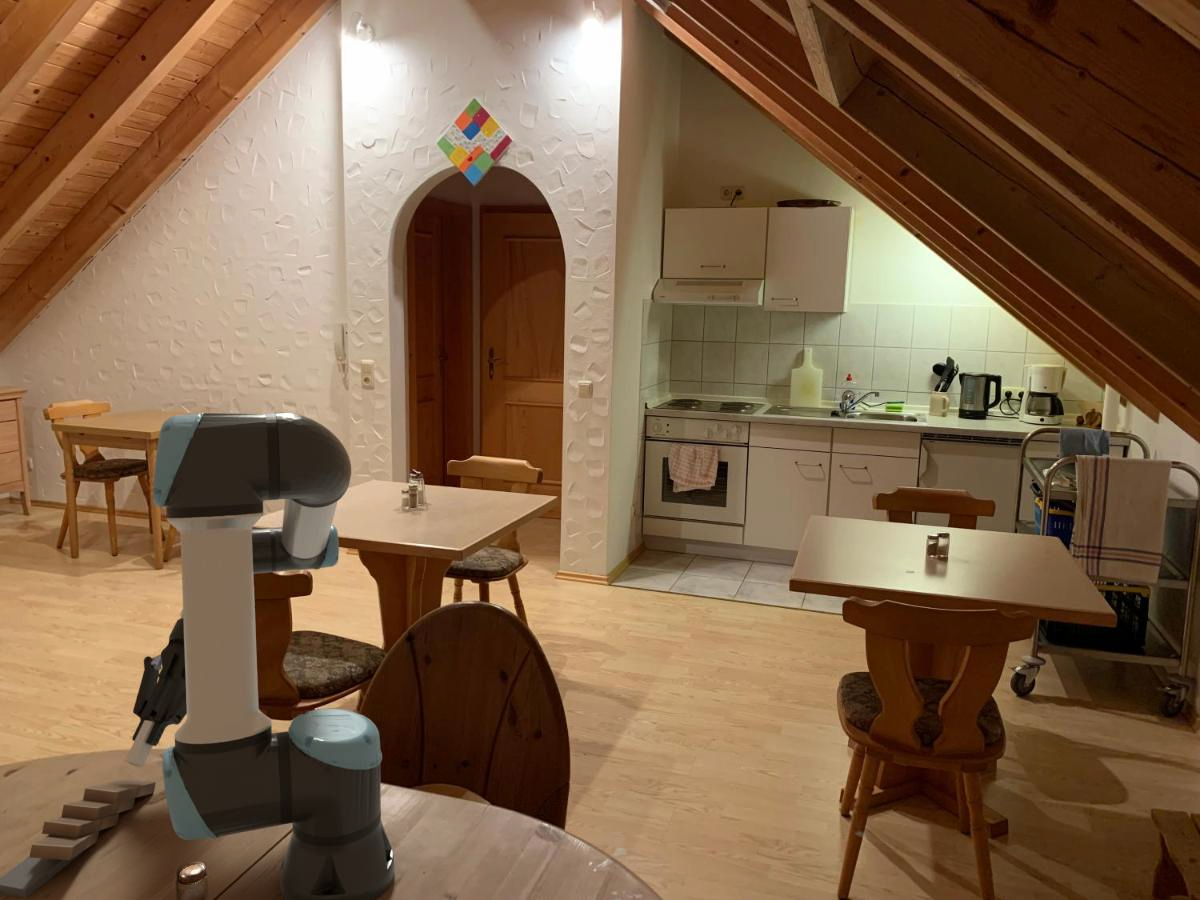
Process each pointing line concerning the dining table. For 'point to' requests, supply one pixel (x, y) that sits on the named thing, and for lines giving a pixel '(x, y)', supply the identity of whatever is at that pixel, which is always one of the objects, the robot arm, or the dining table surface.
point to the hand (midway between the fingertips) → (133, 764)
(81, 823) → the domino
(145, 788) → the domino
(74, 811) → the domino
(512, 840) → the dining table surface
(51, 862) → the domino
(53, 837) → the domino
